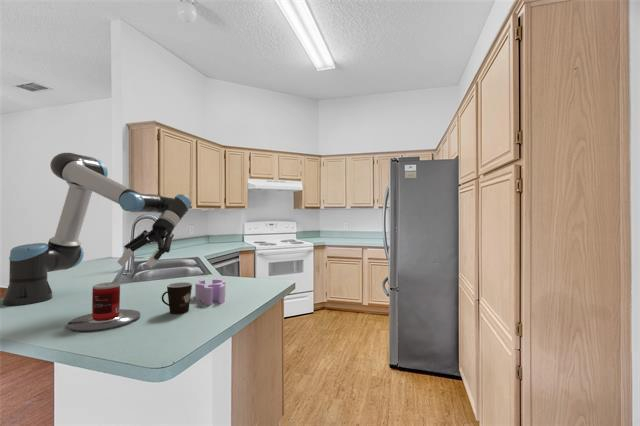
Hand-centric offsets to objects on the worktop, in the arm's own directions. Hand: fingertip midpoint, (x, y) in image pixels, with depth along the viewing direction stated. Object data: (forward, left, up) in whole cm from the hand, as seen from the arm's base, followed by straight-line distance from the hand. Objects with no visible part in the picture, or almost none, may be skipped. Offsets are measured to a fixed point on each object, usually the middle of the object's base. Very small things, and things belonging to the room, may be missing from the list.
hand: (133, 265), depth 115 cm
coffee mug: (+15, +4, -18) cm, 23 cm away
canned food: (0, -10, -16) cm, 19 cm away
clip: (+15, +25, -18) cm, 34 cm away
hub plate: (0, -11, -17) cm, 20 cm away
